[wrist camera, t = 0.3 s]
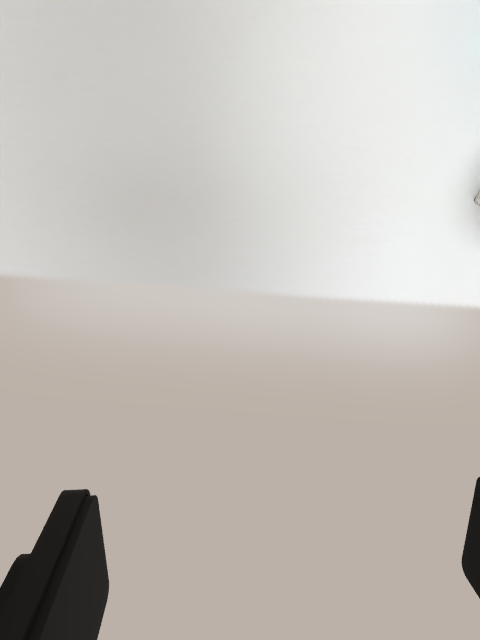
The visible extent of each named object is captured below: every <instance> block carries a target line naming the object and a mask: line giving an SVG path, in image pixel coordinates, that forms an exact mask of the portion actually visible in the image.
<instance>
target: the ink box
mask: <svg viewBox="0 0 480 640" xmlns="http://www.w3.org/2000/svg"><path fill="white" fill-rule="evenodd" d="M475 202H476V203H477V204H479V205H480V192H479V194H478V195H477V197H476V198H475Z"/></svg>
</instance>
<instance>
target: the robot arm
mask: <svg viewBox="0 0 480 640" xmlns="http://www.w3.org/2000/svg"><path fill="white" fill-rule="evenodd" d="M462 568H463V571H464V573H465V576H466V578H467V579H468V581H469V582H470V584H471V585H472V587H473V589H474V590H475V592H476V593H477V595H478V596H479V598H480V477H479V478H478V479H477V482H476V487H475V492H474V497H473V503H472V508H471V513H470V519H469V524H468V529H467V534H466V540H465V545H464V550H463V556H462ZM108 592H109V579H108V571H107V564H106V556H105V549H104V543H103V535H102V526H101V519H100V511H99V504H98V498H97V496H96V495H94V496H90V492H89V490H87V489H83V490H64V491H62V492H61V494H60V496H59V498H58V500H57V502H56V504H55V506H54V508H53V510H52V512H51V514H50V516H49V518H48V520H47V522H46V524H45V526H44V528H43V530H42V532H41V534H40V536H39V538H38V540H37V542H36V544H35V546H34V548H33V550H32V552H31V554H21V555H20V556H19V557H17V558H16V560H15V561H14V563H13V564H12V566H11V568H10V570H9V572H8V574H7V576H6V578H5V580H4V582H3V584H2V586H1V587H0V640H97V638H98V634H99V630H100V626H101V622H102V618H103V614H104V610H105V607H106V603H107V598H108Z"/></svg>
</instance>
